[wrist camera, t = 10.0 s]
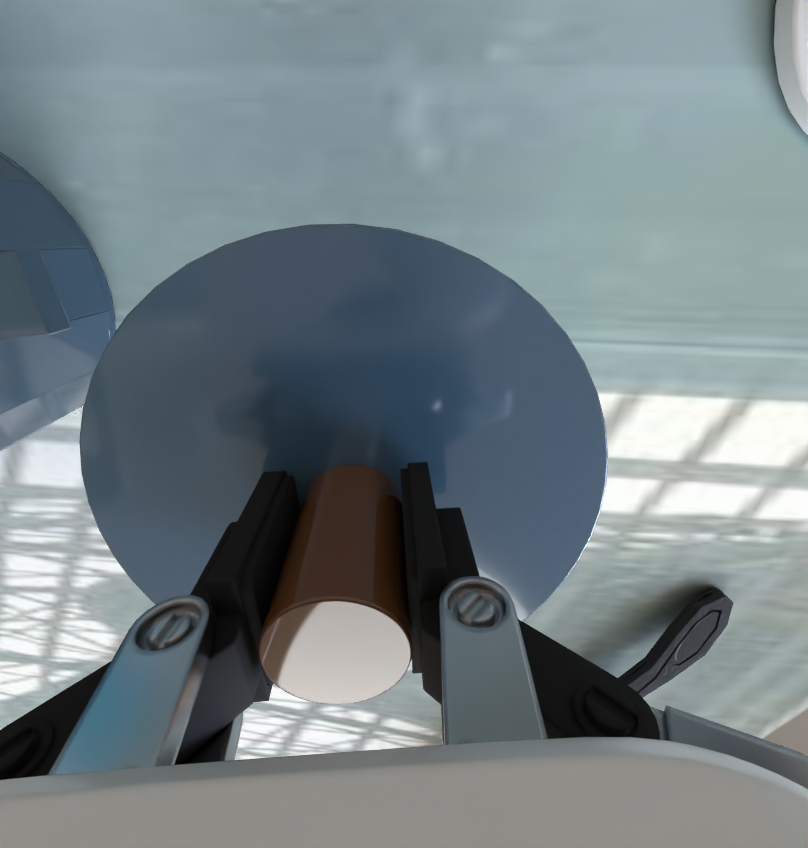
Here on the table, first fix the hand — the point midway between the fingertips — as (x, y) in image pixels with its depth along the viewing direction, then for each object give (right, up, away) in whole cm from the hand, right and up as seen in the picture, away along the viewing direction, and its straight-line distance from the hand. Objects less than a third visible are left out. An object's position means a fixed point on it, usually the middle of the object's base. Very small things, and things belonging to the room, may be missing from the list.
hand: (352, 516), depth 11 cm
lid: (0, 0, +1) cm, 1 cm away
